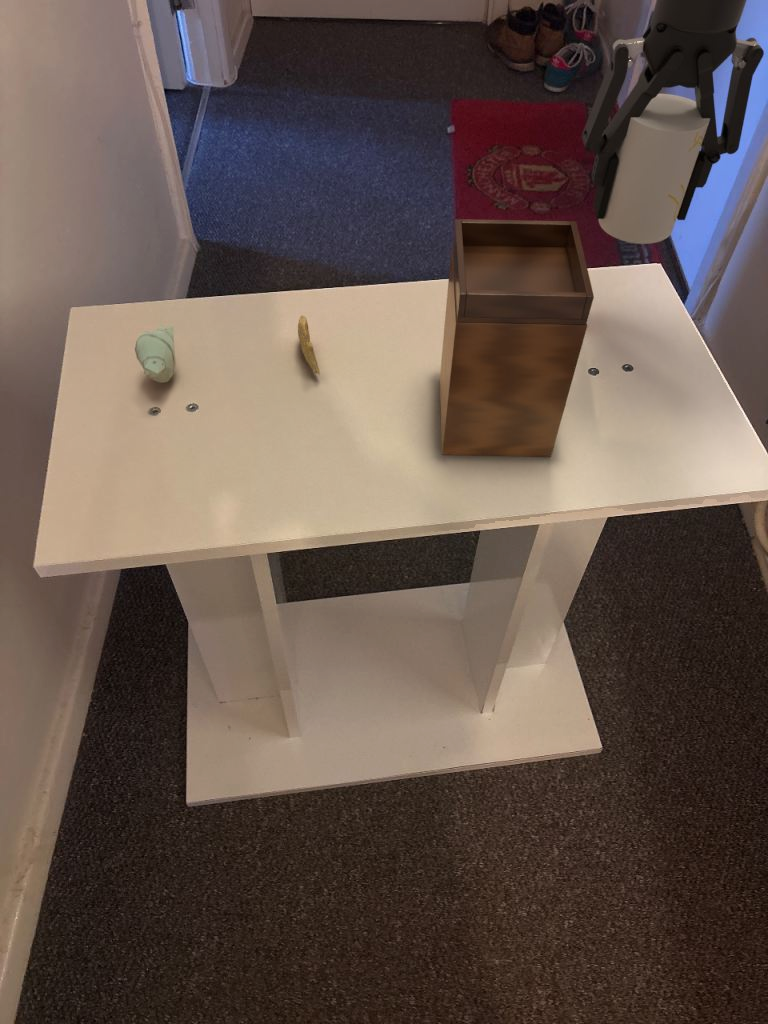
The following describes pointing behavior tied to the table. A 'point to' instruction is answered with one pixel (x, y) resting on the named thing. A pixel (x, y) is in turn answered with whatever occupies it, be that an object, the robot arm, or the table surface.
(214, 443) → the table surface
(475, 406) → the stand
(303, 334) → the pastry
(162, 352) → the pale green rounded piece
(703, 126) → the white patterned cylinder
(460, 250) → the holder
